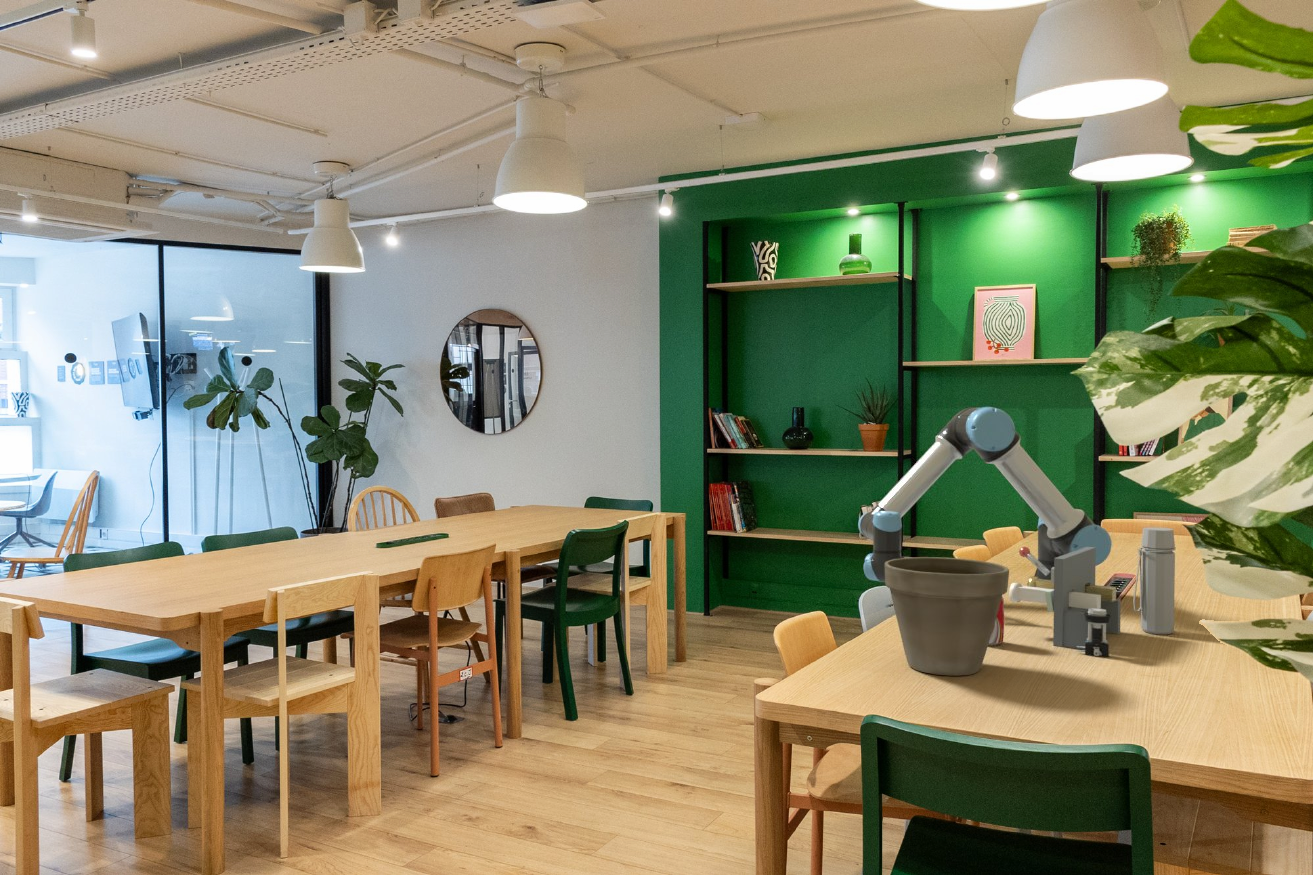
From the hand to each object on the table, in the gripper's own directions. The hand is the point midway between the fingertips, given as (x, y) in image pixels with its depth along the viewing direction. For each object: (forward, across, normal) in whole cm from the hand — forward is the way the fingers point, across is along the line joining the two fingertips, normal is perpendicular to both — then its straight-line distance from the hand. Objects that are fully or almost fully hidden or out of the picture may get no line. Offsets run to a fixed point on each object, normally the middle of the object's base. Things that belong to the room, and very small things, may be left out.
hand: (1007, 582), depth 248 cm
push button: (+27, +20, -10) cm, 35 cm away
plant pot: (+6, +51, -10) cm, 53 cm away
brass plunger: (+16, 0, -2) cm, 16 cm away
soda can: (+5, +25, -10) cm, 27 cm away
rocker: (+17, +16, -2) cm, 23 cm away
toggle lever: (+12, +16, +5) cm, 21 cm away
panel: (+21, +6, -10) cm, 24 cm away
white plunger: (+16, +12, -2) cm, 20 cm away
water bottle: (+31, -12, -10) cm, 35 cm away
